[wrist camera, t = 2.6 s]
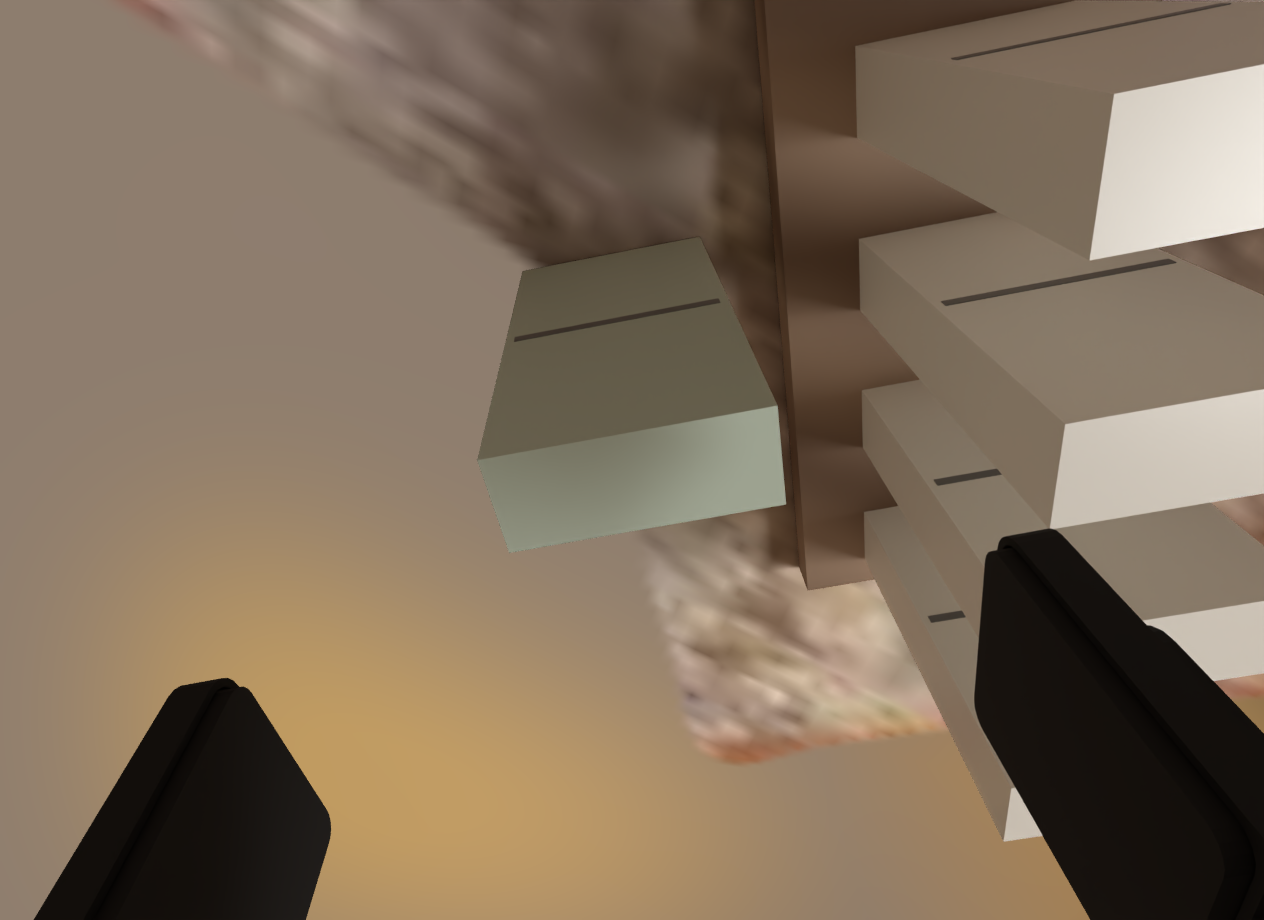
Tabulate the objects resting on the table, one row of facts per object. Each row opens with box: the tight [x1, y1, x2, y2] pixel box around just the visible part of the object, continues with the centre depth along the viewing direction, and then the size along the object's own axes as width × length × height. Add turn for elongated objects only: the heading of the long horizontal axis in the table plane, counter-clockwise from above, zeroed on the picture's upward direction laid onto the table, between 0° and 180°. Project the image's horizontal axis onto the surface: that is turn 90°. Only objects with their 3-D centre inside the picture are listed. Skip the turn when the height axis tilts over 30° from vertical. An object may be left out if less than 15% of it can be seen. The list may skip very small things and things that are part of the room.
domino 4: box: [862, 380, 1264, 681], centre depth 18 cm, size 2×5×10 cm, turn 100°
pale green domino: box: [477, 237, 786, 553], centre depth 17 cm, size 2×5×10 cm, turn 100°
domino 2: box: [855, 1, 1264, 261], centre depth 13 cm, size 2×5×10 cm, turn 100°
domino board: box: [754, 0, 1162, 590], centre depth 20 cm, size 23×9×1 cm, turn 10°
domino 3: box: [859, 212, 1264, 529], centre depth 16 cm, size 2×5×10 cm, turn 100°
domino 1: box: [864, 506, 1043, 841], centre depth 20 cm, size 2×5×10 cm, turn 100°
